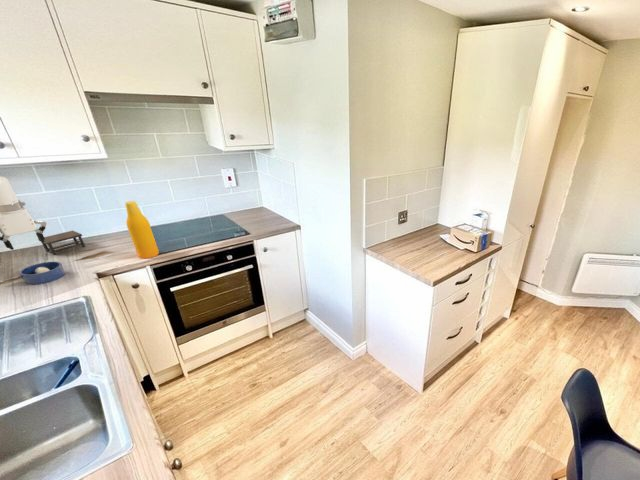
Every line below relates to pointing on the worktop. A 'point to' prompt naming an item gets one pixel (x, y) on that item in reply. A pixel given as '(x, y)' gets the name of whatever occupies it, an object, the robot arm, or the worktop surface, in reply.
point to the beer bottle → (140, 232)
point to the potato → (41, 270)
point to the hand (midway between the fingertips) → (27, 245)
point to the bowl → (33, 278)
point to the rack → (62, 237)
